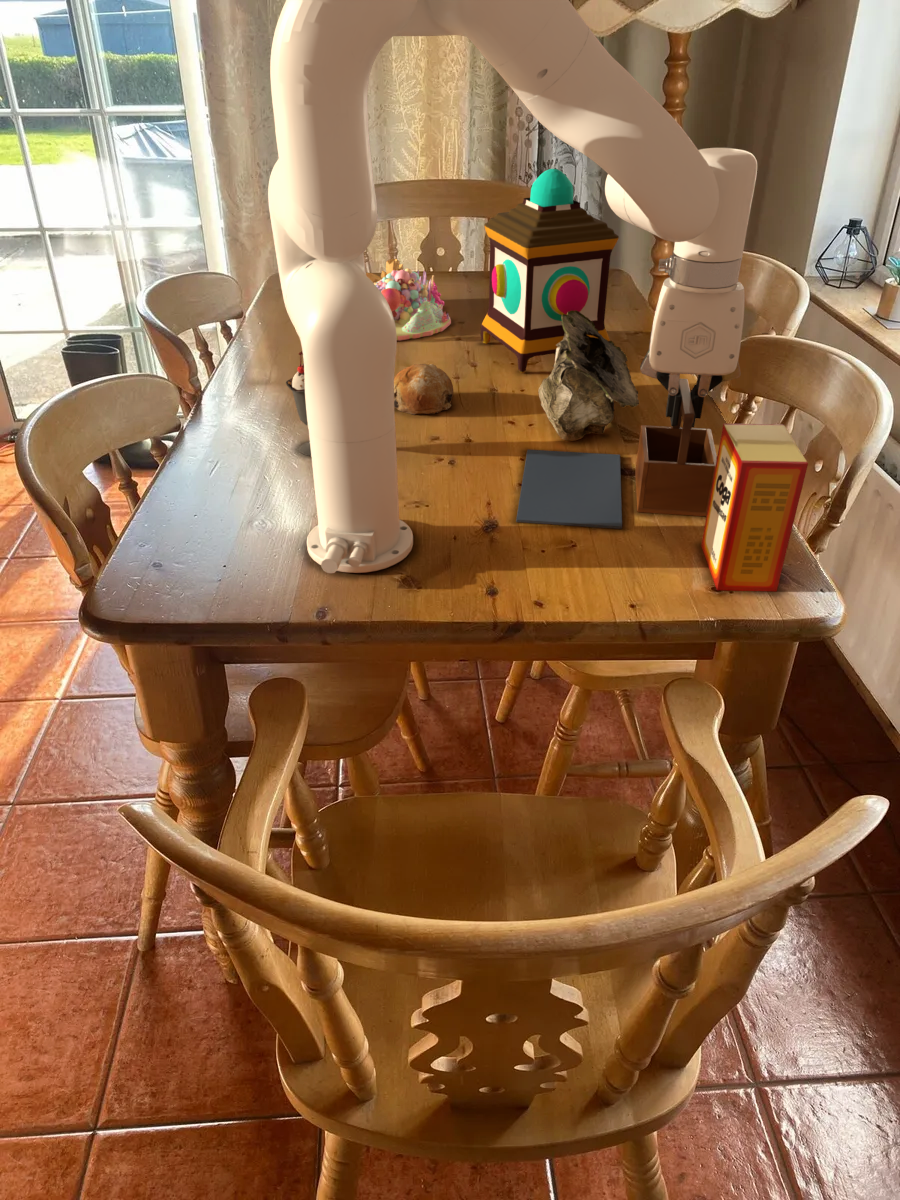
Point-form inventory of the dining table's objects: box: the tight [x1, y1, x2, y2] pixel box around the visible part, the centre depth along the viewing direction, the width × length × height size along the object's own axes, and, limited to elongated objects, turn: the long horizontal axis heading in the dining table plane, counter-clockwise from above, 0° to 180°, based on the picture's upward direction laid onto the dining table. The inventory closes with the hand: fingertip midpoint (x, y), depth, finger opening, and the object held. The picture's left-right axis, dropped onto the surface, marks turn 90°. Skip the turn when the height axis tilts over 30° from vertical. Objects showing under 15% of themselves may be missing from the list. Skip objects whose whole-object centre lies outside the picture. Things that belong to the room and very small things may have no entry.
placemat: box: [515, 449, 623, 530], centre depth 120 cm, size 20×13×1 cm, turn 172°
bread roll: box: [394, 363, 454, 416], centre depth 142 cm, size 10×10×8 cm
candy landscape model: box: [366, 258, 452, 341], centre depth 175 cm, size 25×24×9 cm
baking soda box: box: [700, 423, 809, 592], centre depth 100 cm, size 10×6×16 cm
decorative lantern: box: [480, 168, 620, 374], centre depth 154 cm, size 20×20×30 cm
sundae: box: [285, 350, 311, 457], centre depth 126 cm, size 7×7×15 cm
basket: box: [634, 378, 718, 517], centre depth 115 cm, size 11×9×14 cm
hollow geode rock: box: [537, 310, 640, 442], centre depth 138 cm, size 28×13×15 cm
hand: (682, 421), depth 113 cm, fingers closed
